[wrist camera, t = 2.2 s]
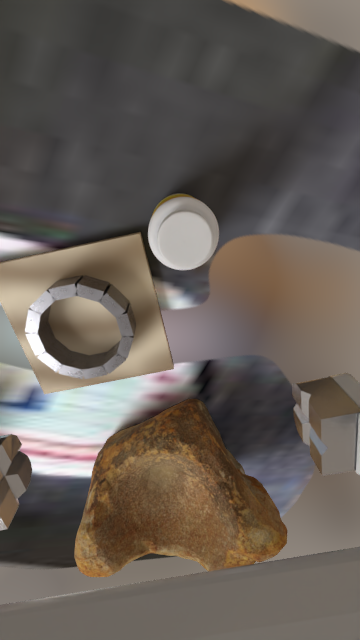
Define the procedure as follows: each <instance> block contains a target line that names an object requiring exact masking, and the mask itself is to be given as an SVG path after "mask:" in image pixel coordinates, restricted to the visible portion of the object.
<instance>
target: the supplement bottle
mask: <svg viewBox="0 0 360 640" xmlns="http://www.w3.org/2000/svg"><path fill="white" fill-rule="evenodd" d="M148 240H149V244H150V247H151V250H152V252H153V253H154V255H155V256H156V258H157V259H158V260H159V261H160V262H161V263H163V264H164V265H166V266H168V267H170V268H173V269H176V270H190V269H194V268H196V267H199V266H201V265H202V264H204V263H205V262H206V261H207V260H208V259H209V258H210V257H211V256H212V254H213V253H214V251H215V249H216V247H217V244H218V240H219V227H218V223H217V220H216V217H215V215H214V214H213V212H212V211H211V209H210V208H209V207H208V206H207V205H205V204H204V203H203V202H201V201H199V200H198V199H196V198H194V197H192V196H190V195H187V194H173V195H170V196H168V197H166V198H164V199H163V200H162V201H160V203H159V204H158V205H157V206H156V208H155V210H154V212H153V215H152V217H151V220H150V223H149V227H148Z"/></svg>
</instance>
